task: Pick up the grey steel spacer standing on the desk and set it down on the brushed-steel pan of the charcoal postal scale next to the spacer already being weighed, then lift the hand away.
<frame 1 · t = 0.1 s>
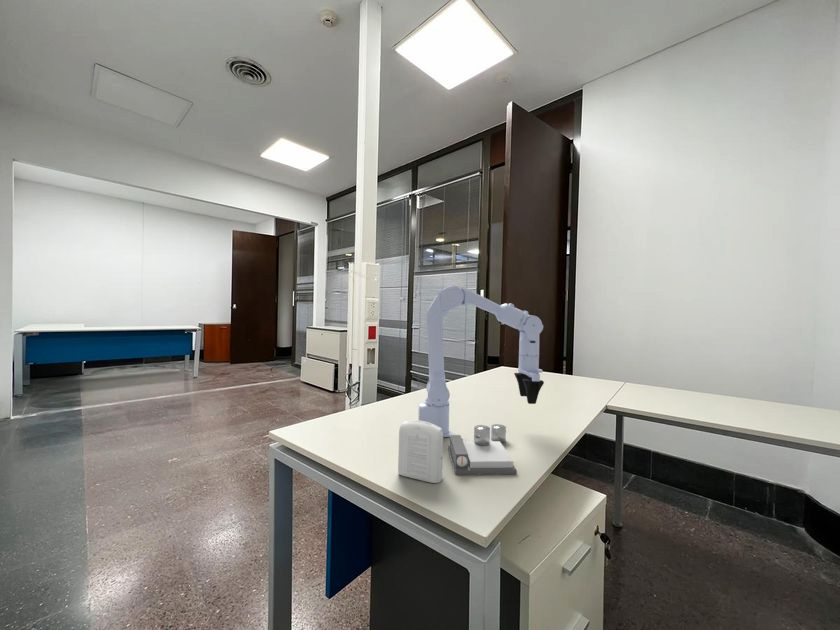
hand: (527, 399, 99), 10 cm above the table, fingers open, 7 cm apart
spacer: (498, 440, 93), on the table
scale: (479, 460, 81), on the table
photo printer: (420, 477, 73), on the table
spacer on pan: (481, 443, 85), point 2 cm above the table, touching scale
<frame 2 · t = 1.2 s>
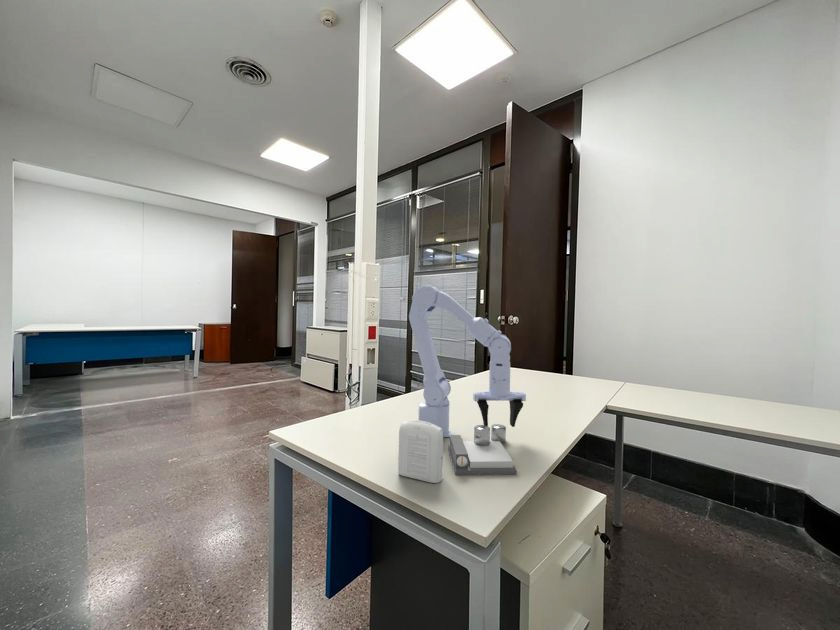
hand: (498, 425, 93), 4 cm above the table, fingers open, 7 cm apart
nothing on the table moved.
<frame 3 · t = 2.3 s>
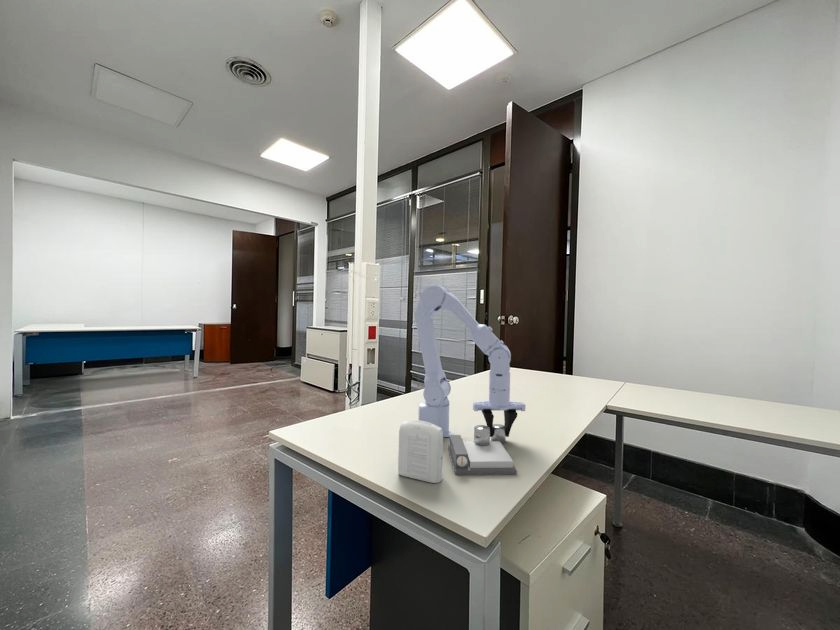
hand: (498, 435, 93), 1 cm above the table, fingers closed on spacer, 4 cm apart
spacer: (498, 440, 93), on the table, touching gripper
everything else where it was.
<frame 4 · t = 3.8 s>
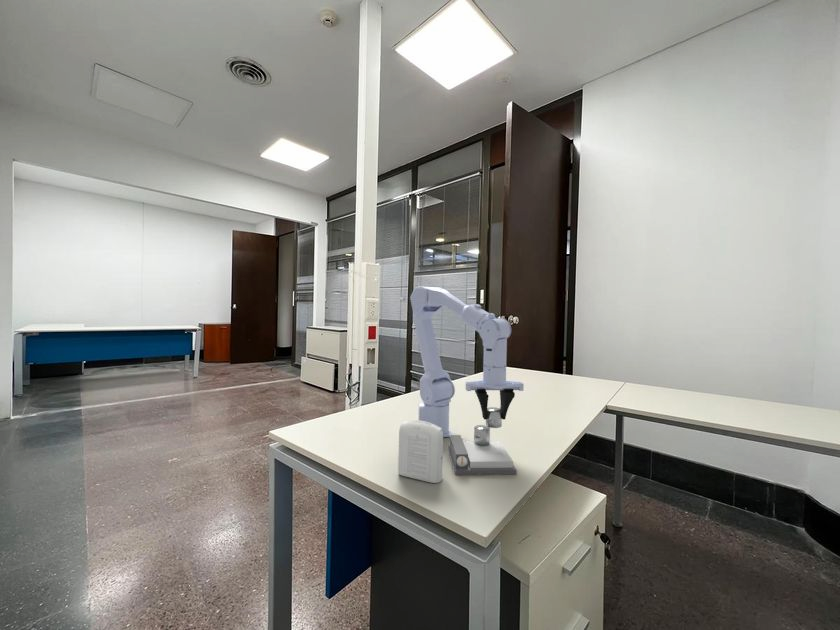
hand: (493, 418, 84), 9 cm above the table, fingers closed on spacer, 4 cm apart
spacer: (493, 425, 84), point 8 cm above the table, touching gripper
everything else where it was.
when the fingers open (5 cm above the table, at t = 5.4 s): spacer drops 1 cm, resting on scale.
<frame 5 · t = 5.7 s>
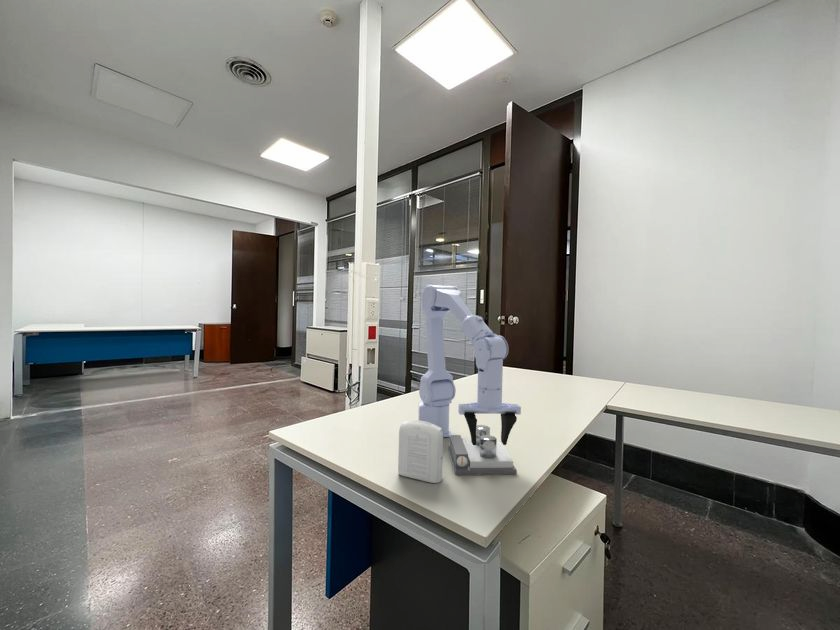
hand: (488, 443, 78), 5 cm above the table, fingers open, 7 cm apart
spacer: (487, 454, 78), point 3 cm above the table, touching scale
everything else where it was.
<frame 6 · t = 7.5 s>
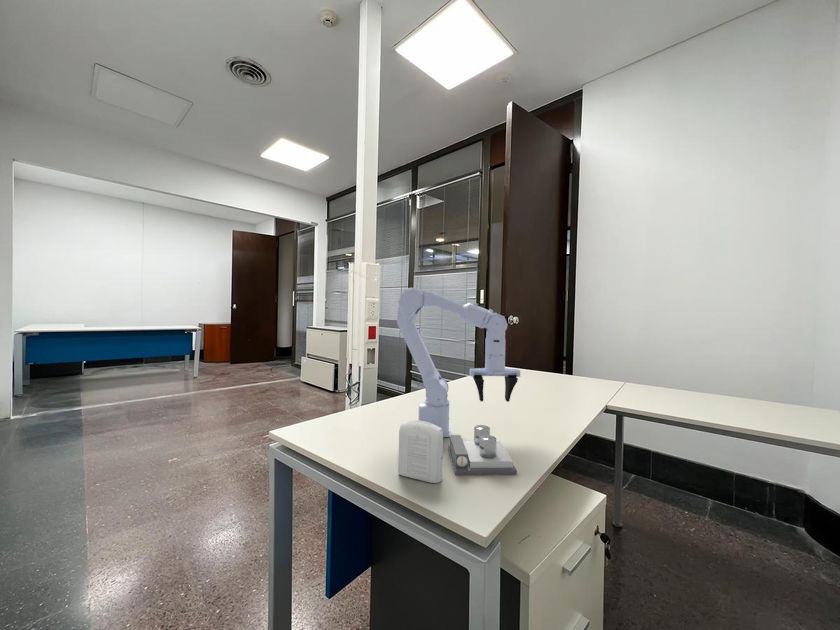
hand: (494, 400, 96), 10 cm above the table, fingers open, 7 cm apart
nothing on the table moved.
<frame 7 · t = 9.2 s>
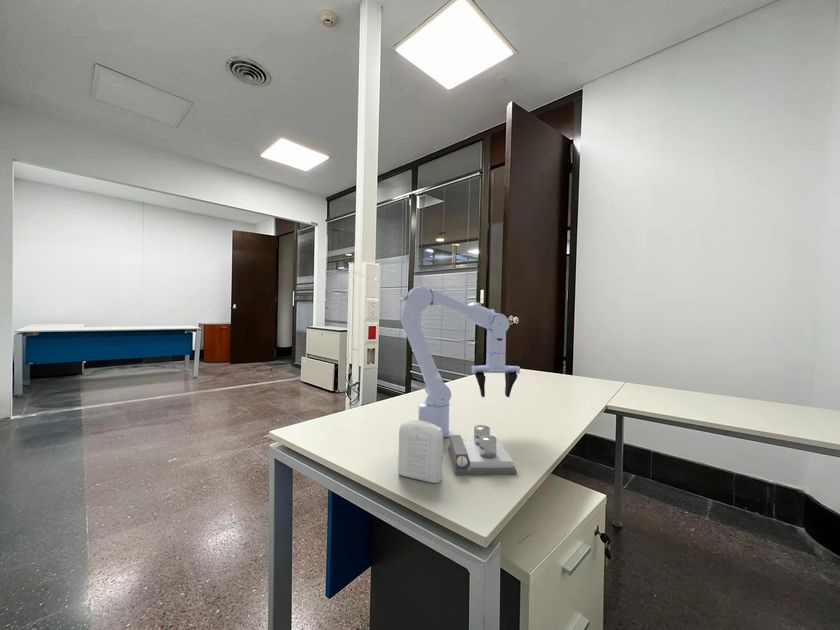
hand: (495, 396, 101), 10 cm above the table, fingers open, 7 cm apart
nothing on the table moved.
at the end: spacer inside the target area on the scale (2.2 cm from its centre), point 2.5 cm above the scale's base; spacer tilted 2°; the gripper is holding nothing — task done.
